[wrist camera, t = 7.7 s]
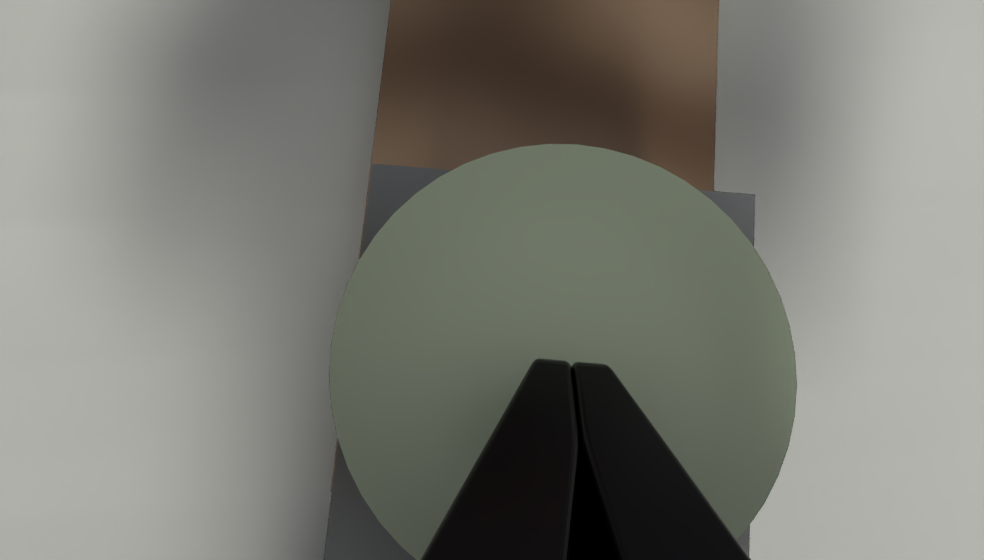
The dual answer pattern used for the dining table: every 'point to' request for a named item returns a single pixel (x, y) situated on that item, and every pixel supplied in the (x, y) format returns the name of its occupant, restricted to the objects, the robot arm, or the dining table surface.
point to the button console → (532, 123)
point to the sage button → (557, 327)
